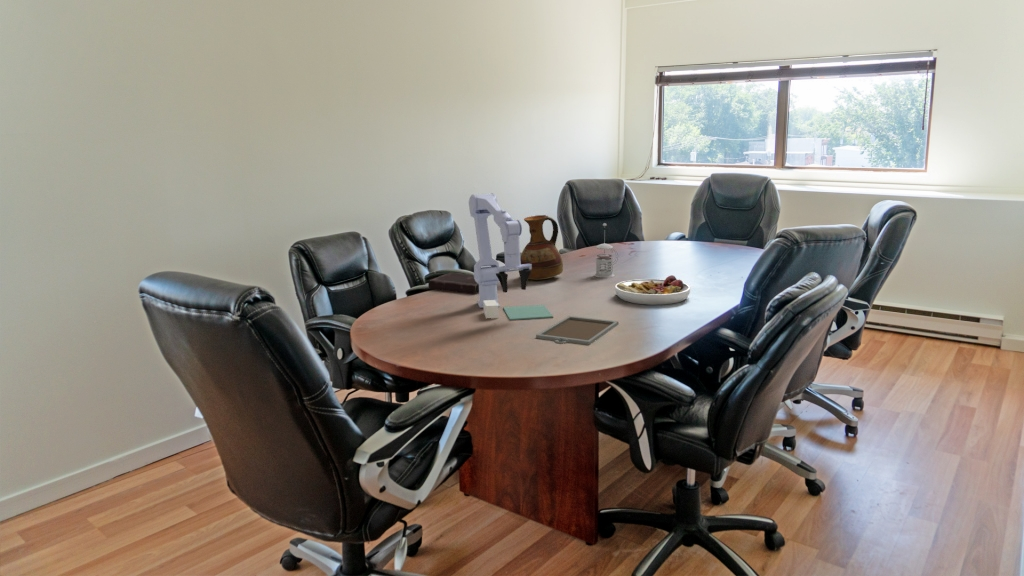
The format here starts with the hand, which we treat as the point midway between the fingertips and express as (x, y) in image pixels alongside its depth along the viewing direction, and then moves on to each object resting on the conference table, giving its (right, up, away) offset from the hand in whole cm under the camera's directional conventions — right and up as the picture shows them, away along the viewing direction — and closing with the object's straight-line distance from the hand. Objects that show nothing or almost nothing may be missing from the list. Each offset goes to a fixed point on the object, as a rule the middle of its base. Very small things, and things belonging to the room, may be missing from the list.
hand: (514, 290), depth 251 cm
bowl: (+56, -3, +30) cm, 64 cm away
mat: (+5, -9, +9) cm, 13 cm away
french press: (+44, +7, +76) cm, 88 cm away
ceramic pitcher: (+13, +5, +73) cm, 74 cm away
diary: (-23, 0, +56) cm, 61 cm away
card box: (-9, -9, +7) cm, 15 cm away
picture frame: (+21, -15, -17) cm, 31 cm away
